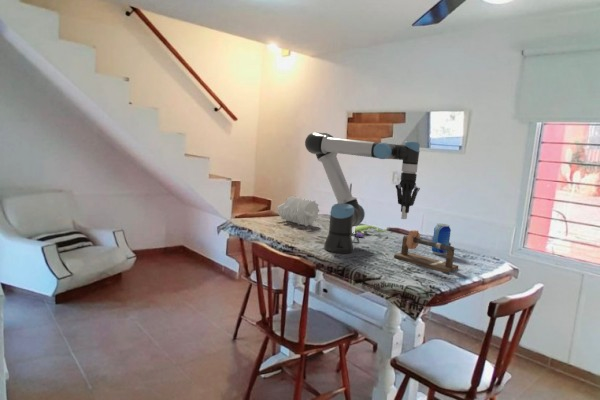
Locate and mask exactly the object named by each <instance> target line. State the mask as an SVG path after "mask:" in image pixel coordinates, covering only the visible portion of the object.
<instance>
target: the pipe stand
mask: <svg viewBox="0 0 600 400" xmlns="http://www.w3.org/2000/svg"><path fill="white" fill-rule="evenodd" d="M407 236H408V235H405V234H404V235H403V237H402V242H401V243H402V245H401V252H400V253H396V254H394V256H393V258H395V259H398V260H400V261H401V260H402V261H405V262H407V263H411V264H415V265H418V266H422V267H425V268H428V269H432V270H435V271H440V272H443V273H446V274H447V273H449V272H452V271H453V272H454V271H456V270H459V265H457V264H453V263H454V256H455V246H451V245H449V246H448V245H444V244H441V243H435V242H433V241H431V240H427V239H423V238H420V239H419V238H415V237H414V238H413V242H415V243H419V244H420V245H422V246H423V245H424V246H428V247H431V248H432V247H435V248H437V249H443V250H447V254H446V258H445V261H442V260H439V259H434V258H431V257H427V256H423V255H421V254H416V253H414V252H413V253H412V252H410V251H409V248H408V246H407V244H406V242H407ZM419 244H418V245H419Z"/></svg>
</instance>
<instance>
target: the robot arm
mask: <svg viewBox="0 0 600 400" xmlns="http://www.w3.org/2000/svg"><path fill="white" fill-rule="evenodd" d="M304 145H305V149H306V151H308V152H309V153H310V154H312V155H315V156H316V159H317V161H318V162H320V163H321V164H322V166H323V170H324V172H325V174H326V176H327V178H328V181H329V185H330V186H331V189H332V192H333V194H334V196H335V198H336V199H335V200H336V202H337V203H335V204H333V205H332V206H331V209H330V215H329V216H330V217H329V230H328V235H327V237H326V239H325V242H324V244H323V250H326V251H328V252H330V253H336V254H338V253H339V254H350V253H353V252H354V245H353V238H352V235H353V233H352V228H353V227H356V226H360V224H361V223H362V222H363V221H364V219H365V215H366V214H365V213H366V212H365V209H364V208H363V206H362V205H360V204H359V202H358V199H357V198H356V197H354V196H353V195H352V192H351V190H350V187H349V184H348V182H347V180H346V177H345V175H344V172H343V170H342V167H341V165H340V162H339V160H338V158H337V156H338V154H340V155H341V154H342V155H351V156H358V157H366V158H373V159H380V160H399V161H402V163H401V164H402V165H401V175H400V182H399V183H398V184H396V185H395V188H396V193H397V195H396V196H397V204H398V205H400V206H401V207H400V212H401V216H400V217H401V218H400V219H401V220H407V219H408V214H409V212H410V207H412V206H414V204H415V201H416V198H417V196H418V193H419V192H420V189H421V188H420V187H418V186H417V183H416V181H417V176H418V175H417V172H418V166H419V158H420V157H419V156H420V151H421V150H420V147H421V146H420V145H421V144H420V142H418V141H409V140H406V141H404V144H395V143H387V142H377V141H376V142H375V141H368V140H367V141H365V140H358V139H348V138H347V139H346V138H338V137H334V136H333V135H331V134H329V133H327V132H317V131H314V132H311V133H310V134H308V135H307V137H306V138H305V140H304Z"/></svg>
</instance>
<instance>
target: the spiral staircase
mask: <svg viewBox="0 0 600 400" xmlns="http://www.w3.org/2000/svg"><path fill="white" fill-rule="evenodd" d="M276 208H277V213H278V216H279V217H280V219H281V220H285V221H286V222H292V224H294V223H296V224H297V225H298V226H299V225H302V226H303V225H304V227H308V226H312V225H313V223H314V222H316V221H317V219H319V212H320V208H319V204H318V203H317V202H316V200H310V199H306V198H303V199H302V197H301V196H300V197H296V196H291V195H290V196H289V197H288V198H286V200H285V201H284V203H281V204H280V205H278V206H276Z"/></svg>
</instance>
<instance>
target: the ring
mask: <svg viewBox="0 0 600 400" xmlns="http://www.w3.org/2000/svg"><path fill="white" fill-rule="evenodd" d="M414 237H415V238H419V239H421V234H420V232H419V230H417V229H412V230H410V231H409V233H408V235H407V242H406V244H407V246H408V250H409V249H410V250H414V249H417V247H418V246H419V243H415V242H413V238H414Z"/></svg>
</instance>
